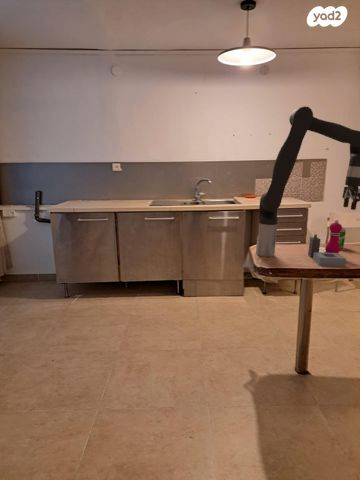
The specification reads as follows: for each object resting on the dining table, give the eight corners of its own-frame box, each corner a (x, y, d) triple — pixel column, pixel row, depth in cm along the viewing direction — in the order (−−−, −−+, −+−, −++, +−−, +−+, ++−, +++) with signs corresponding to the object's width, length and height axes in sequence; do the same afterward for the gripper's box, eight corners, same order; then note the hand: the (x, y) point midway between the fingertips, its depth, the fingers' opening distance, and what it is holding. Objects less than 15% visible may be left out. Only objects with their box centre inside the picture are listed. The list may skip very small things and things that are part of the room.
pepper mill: (340, 259, 162) (346, 221, 157) (325, 258, 163) (331, 220, 158) (336, 255, 169) (342, 219, 164) (322, 254, 170) (327, 218, 165)
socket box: (319, 265, 152) (320, 257, 151) (312, 259, 161) (314, 251, 160) (344, 266, 151) (345, 257, 150) (336, 260, 160) (338, 252, 159)
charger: (310, 257, 165) (313, 235, 162) (307, 255, 169) (310, 233, 166) (318, 257, 165) (321, 235, 162) (315, 255, 168) (318, 233, 165)
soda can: (327, 245, 188) (329, 226, 185) (339, 246, 188) (342, 226, 185) (332, 249, 181) (335, 229, 178) (345, 249, 181) (348, 229, 178)
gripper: (341, 175, 162) (335, 206, 166) (353, 176, 148) (347, 210, 153) (355, 175, 162) (350, 206, 166) (370, 177, 148) (363, 211, 152)
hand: (349, 208), depth 159 cm, fingers open, 8 cm apart
